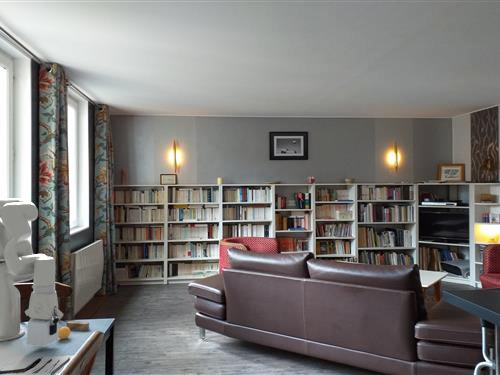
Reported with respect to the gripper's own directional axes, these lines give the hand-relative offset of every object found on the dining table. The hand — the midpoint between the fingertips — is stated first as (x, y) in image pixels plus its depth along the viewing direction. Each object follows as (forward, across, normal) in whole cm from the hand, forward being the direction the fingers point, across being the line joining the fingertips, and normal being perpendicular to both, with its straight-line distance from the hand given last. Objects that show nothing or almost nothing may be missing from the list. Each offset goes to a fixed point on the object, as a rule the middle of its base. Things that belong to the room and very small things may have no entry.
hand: (43, 332), depth 151 cm
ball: (+4, +1, +10) cm, 11 cm away
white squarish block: (+3, 0, 0) cm, 3 cm away
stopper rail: (+7, 0, +21) cm, 22 cm away
